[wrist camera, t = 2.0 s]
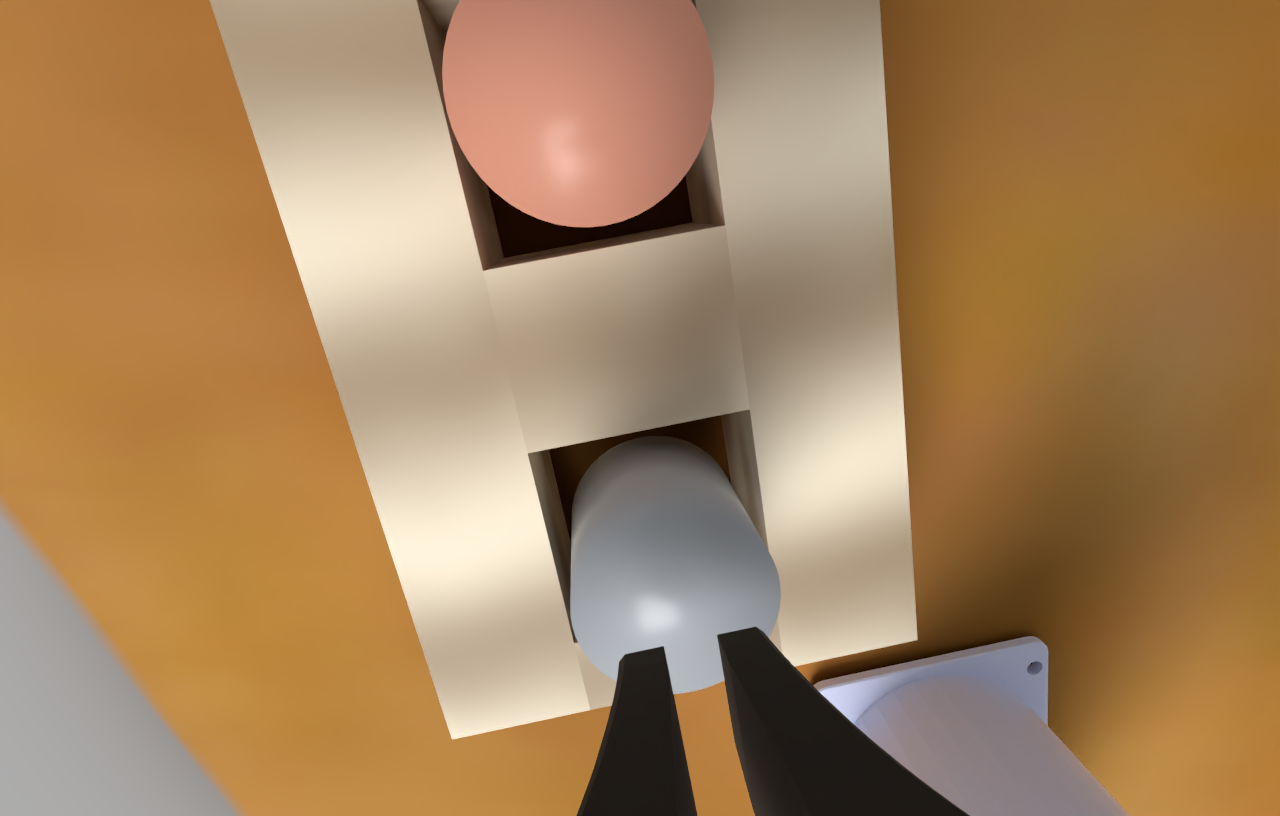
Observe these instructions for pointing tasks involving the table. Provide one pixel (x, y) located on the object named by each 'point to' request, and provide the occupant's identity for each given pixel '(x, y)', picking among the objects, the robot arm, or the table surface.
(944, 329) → the table surface
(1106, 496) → the table surface
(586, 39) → the terracotta button
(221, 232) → the table surface
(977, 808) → the robot arm
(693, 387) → the button panel
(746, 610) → the grey button
